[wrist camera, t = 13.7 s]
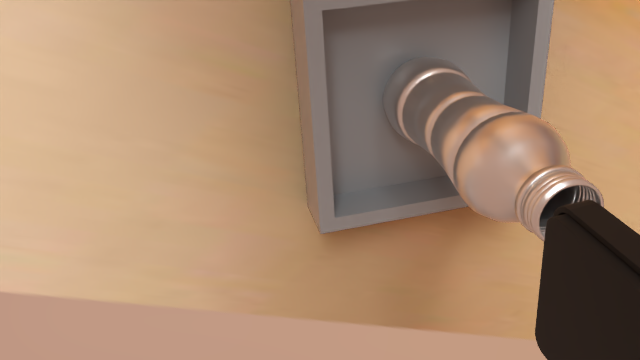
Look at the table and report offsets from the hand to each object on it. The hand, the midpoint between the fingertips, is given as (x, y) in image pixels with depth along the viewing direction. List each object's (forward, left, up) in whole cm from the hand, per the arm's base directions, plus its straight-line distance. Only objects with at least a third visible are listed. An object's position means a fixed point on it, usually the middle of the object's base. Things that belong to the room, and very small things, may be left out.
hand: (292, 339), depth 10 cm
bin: (+9, +16, -35) cm, 39 cm away
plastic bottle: (+9, +16, -34) cm, 38 cm away
